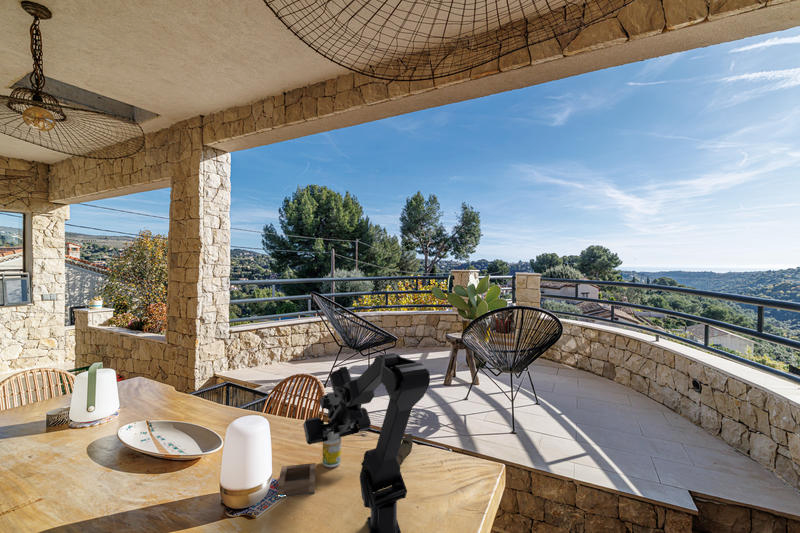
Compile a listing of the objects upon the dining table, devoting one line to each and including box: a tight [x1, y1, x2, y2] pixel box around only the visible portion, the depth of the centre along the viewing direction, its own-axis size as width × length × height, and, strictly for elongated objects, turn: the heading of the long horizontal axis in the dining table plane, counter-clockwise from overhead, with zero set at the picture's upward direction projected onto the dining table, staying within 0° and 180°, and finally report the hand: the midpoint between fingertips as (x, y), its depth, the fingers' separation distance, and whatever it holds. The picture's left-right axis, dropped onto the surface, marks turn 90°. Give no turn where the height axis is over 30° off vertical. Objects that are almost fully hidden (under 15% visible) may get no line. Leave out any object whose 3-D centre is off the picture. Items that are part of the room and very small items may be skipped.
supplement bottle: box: [322, 432, 342, 468], centre depth 102 cm, size 5×5×10 cm
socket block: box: [276, 462, 316, 498], centre depth 91 cm, size 9×9×3 cm
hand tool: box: [397, 433, 414, 466], centre depth 105 cm, size 19×4×5 cm, turn 155°
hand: (330, 437), depth 103 cm, fingers closed on supplement bottle, 5 cm apart
